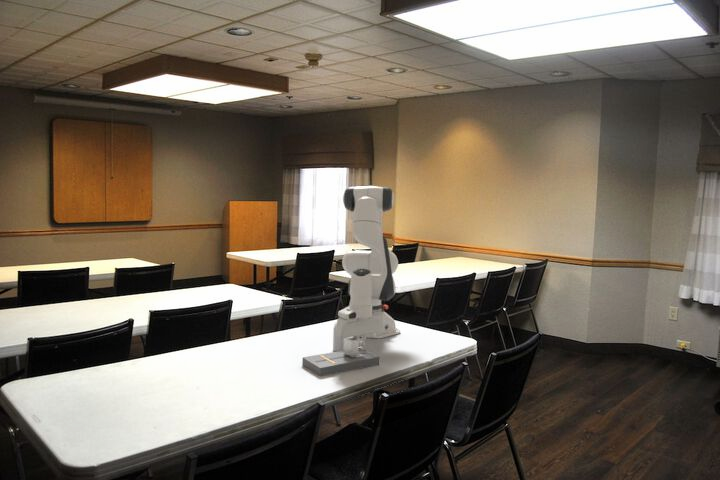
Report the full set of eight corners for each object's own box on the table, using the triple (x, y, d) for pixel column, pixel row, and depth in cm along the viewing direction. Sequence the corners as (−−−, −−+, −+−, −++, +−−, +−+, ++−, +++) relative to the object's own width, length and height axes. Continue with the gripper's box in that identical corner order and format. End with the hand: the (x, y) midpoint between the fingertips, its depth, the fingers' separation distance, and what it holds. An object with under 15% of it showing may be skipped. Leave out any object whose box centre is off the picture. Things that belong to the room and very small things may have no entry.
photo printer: (356, 348, 228) (357, 320, 227) (358, 351, 224) (358, 322, 223) (332, 349, 227) (333, 320, 226) (333, 352, 223) (333, 323, 222)
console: (359, 354, 220) (359, 347, 220) (379, 364, 208) (379, 356, 208) (302, 365, 206) (302, 357, 206) (320, 376, 194) (320, 367, 194)
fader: (350, 351, 213) (350, 335, 212) (358, 356, 207) (358, 339, 207) (343, 353, 211) (343, 336, 210) (351, 357, 206) (351, 340, 205)
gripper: (378, 306, 218) (377, 340, 219) (334, 312, 207) (333, 347, 208) (387, 310, 213) (386, 344, 214) (342, 315, 202) (342, 351, 203)
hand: (360, 346), depth 211 cm, fingers closed
